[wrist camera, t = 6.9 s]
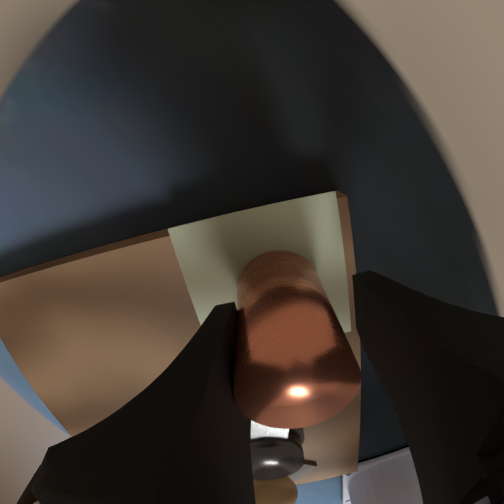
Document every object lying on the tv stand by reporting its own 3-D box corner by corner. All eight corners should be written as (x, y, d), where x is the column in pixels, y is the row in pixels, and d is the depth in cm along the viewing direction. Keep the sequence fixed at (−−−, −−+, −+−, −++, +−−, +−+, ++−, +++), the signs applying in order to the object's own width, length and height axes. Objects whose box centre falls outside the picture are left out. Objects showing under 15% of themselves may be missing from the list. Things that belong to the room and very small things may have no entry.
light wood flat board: (354, 459, 19) (367, 508, 14) (128, 479, 20) (118, 521, 16) (336, 183, 12) (387, 213, 7) (-14, 276, 13) (-64, 316, 8)
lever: (296, 457, 16) (306, 528, 11) (181, 456, 16) (171, 526, 11) (335, 251, 11) (394, 336, 6) (141, 248, 11) (76, 330, 6)
